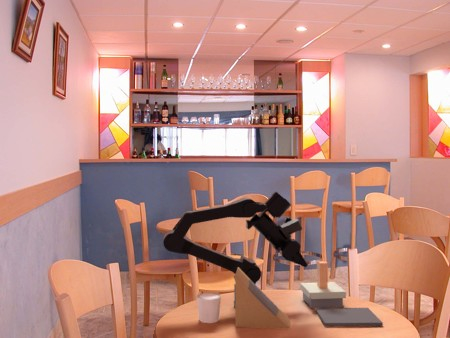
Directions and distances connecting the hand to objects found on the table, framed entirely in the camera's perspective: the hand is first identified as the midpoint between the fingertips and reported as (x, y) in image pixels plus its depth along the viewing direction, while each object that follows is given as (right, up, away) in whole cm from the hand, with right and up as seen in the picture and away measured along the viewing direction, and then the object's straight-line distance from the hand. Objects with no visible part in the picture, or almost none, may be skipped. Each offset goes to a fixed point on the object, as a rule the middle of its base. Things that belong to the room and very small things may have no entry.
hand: (302, 262), depth 155 cm
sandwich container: (-14, -14, -17) cm, 26 cm away
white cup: (-29, -14, -15) cm, 36 cm away
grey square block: (+6, -13, +1) cm, 14 cm away
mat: (+11, -13, -14) cm, 22 cm away
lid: (+6, -10, +1) cm, 12 cm away
